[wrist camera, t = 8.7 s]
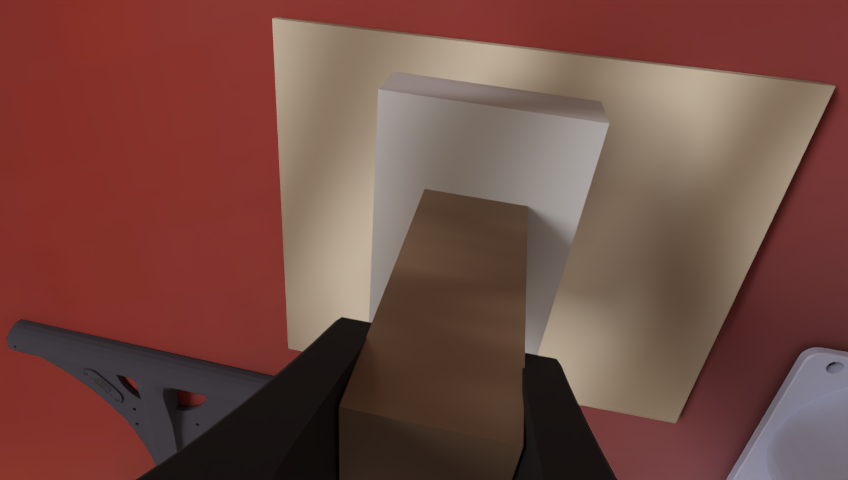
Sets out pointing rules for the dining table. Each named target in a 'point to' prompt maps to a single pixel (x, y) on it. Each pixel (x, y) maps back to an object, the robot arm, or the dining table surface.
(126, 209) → the dining table surface
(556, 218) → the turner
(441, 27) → the dining table surface
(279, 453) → the robot arm
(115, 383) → the bracket
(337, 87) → the board
